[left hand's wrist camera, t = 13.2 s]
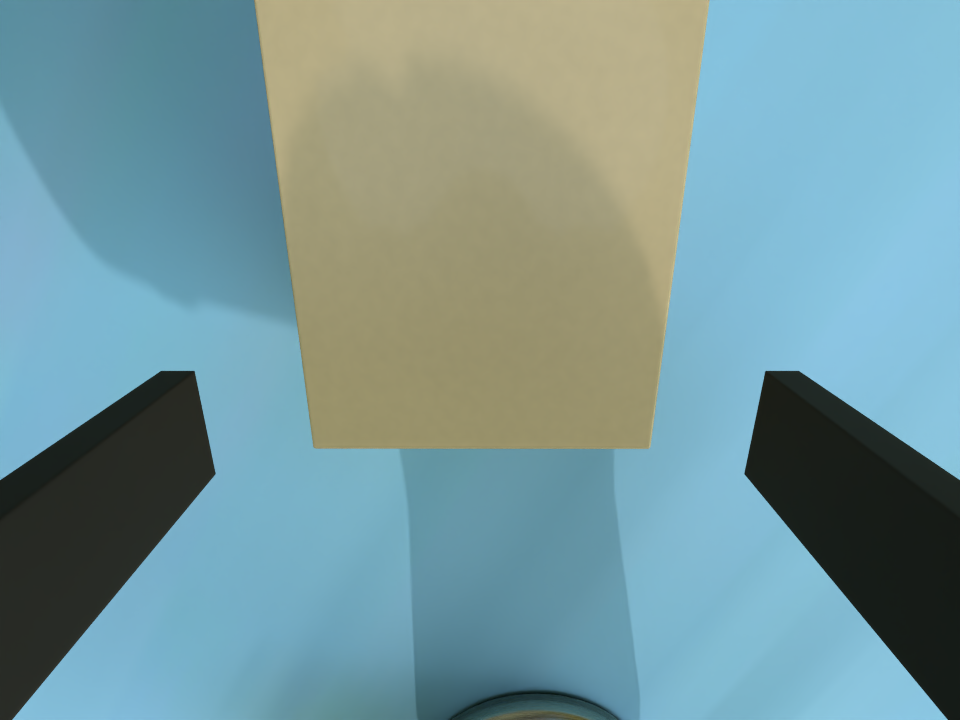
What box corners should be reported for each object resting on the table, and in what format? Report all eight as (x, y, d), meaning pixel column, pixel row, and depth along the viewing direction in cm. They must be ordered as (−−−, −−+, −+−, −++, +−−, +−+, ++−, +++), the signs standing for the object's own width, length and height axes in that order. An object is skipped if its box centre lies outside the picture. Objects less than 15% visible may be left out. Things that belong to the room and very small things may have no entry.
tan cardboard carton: (330, -178, 19) (188, -481, 10) (633, -179, 19) (775, -484, 10) (371, 343, 27) (312, 449, 17) (591, 344, 27) (650, 449, 17)
